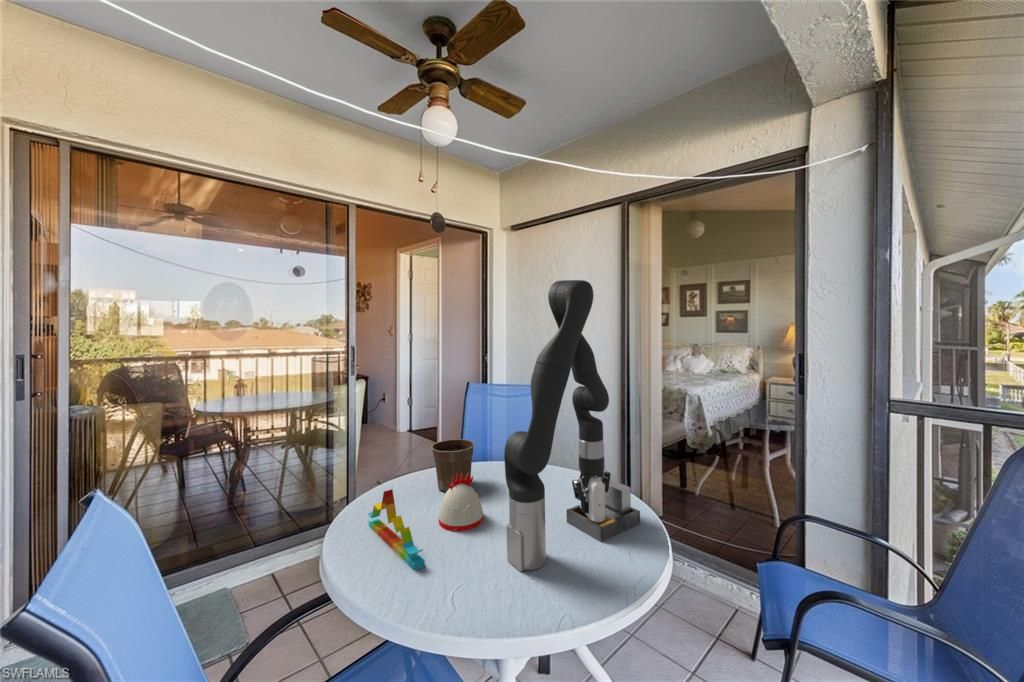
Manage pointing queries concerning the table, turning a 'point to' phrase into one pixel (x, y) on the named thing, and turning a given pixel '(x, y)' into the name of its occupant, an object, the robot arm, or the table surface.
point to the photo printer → (596, 499)
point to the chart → (400, 546)
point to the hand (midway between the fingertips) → (592, 509)
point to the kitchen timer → (460, 506)
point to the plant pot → (452, 461)
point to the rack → (608, 514)
